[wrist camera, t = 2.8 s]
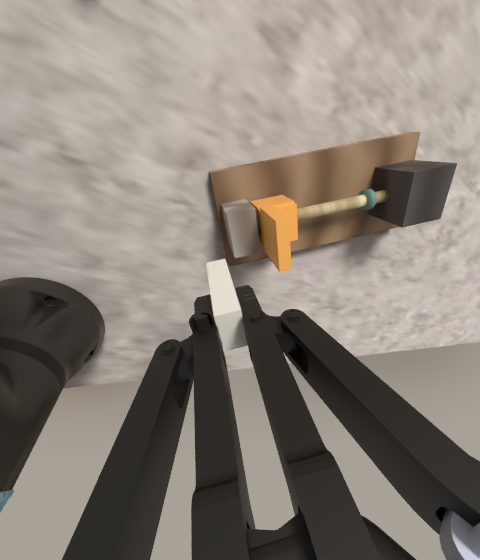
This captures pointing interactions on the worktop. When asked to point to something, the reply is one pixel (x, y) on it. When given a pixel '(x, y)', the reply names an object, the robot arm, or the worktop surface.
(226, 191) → the rail
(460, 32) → the worktop surface
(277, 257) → the orange sliding rod block
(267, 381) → the robot arm
